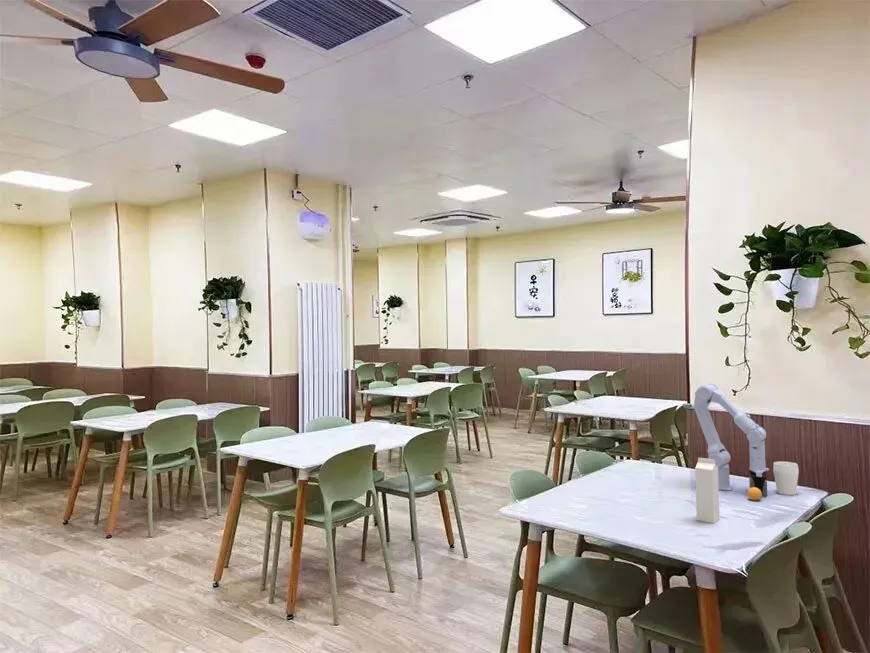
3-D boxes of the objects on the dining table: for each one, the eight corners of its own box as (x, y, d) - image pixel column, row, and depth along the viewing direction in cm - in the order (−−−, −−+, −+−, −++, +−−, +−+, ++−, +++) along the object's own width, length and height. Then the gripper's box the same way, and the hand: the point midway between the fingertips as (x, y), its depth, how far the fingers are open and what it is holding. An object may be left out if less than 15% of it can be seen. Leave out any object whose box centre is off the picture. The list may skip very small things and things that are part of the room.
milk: (702, 516, 221) (700, 455, 221) (719, 519, 217) (718, 458, 217) (696, 520, 217) (694, 458, 217) (714, 523, 212) (712, 460, 213)
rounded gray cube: (750, 495, 246) (750, 480, 246) (749, 491, 251) (749, 476, 251) (767, 496, 243) (766, 481, 243) (766, 492, 249) (765, 478, 249)
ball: (748, 501, 238) (747, 488, 238) (747, 497, 242) (746, 485, 242) (762, 502, 236) (762, 489, 236) (761, 498, 240) (760, 486, 240)
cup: (792, 490, 252) (791, 461, 252) (803, 496, 243) (802, 466, 243) (769, 490, 253) (769, 461, 253) (780, 496, 244) (779, 466, 244)
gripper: (770, 461, 239) (771, 495, 239) (766, 454, 252) (767, 486, 252) (750, 460, 242) (751, 494, 242) (747, 453, 255) (748, 485, 255)
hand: (758, 490), depth 247 cm, fingers open, 7 cm apart
